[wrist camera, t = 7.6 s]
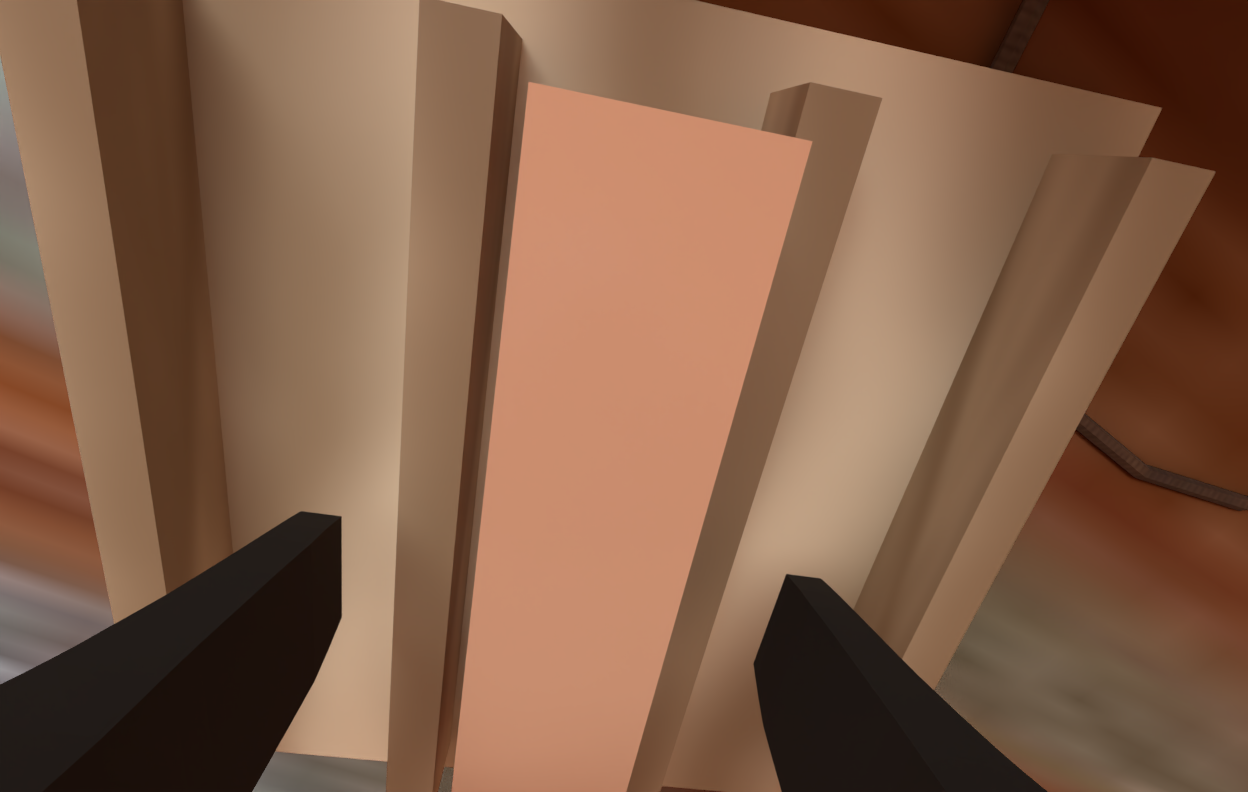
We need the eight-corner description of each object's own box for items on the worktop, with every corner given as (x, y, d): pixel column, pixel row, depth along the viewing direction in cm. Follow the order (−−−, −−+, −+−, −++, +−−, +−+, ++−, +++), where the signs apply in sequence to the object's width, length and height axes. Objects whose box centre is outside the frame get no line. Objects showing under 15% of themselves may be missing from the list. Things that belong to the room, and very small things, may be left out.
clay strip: (484, 713, 15) (432, 968, 10) (564, 109, 10) (528, 80, 5) (582, 722, 15) (573, 975, 11) (714, 140, 10) (811, 141, 5)
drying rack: (217, 702, 16) (131, 827, 13) (120, -114, 9) (-107, -232, 6) (809, 759, 18) (849, 881, 15) (1105, 111, 11) (1290, 101, 8)
